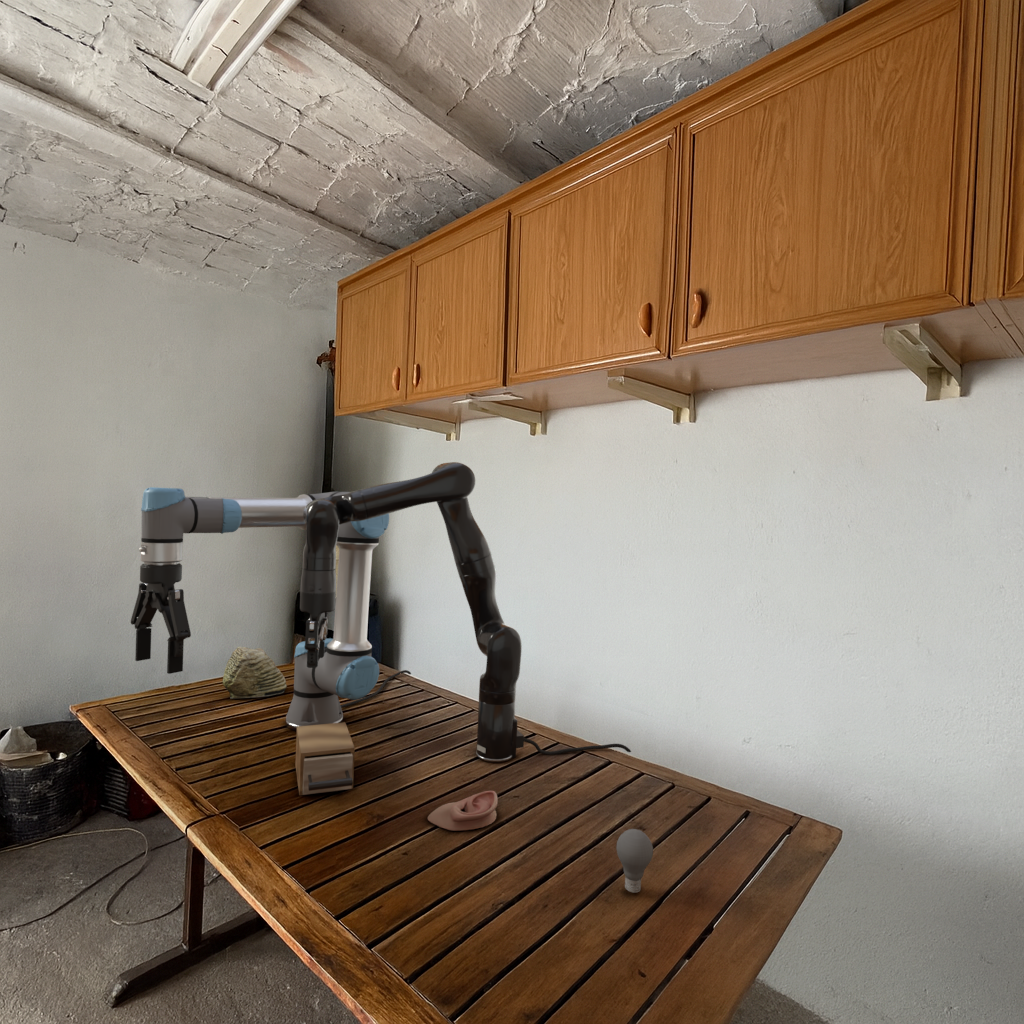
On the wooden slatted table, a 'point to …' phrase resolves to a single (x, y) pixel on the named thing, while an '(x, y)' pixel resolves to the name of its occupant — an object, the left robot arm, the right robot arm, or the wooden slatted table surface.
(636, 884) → the light bulb
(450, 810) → the anatomical model
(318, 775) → the drawer
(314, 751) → the cabinet
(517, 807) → the wooden slatted table surface
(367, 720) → the wooden slatted table surface
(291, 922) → the wooden slatted table surface
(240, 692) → the fossil
